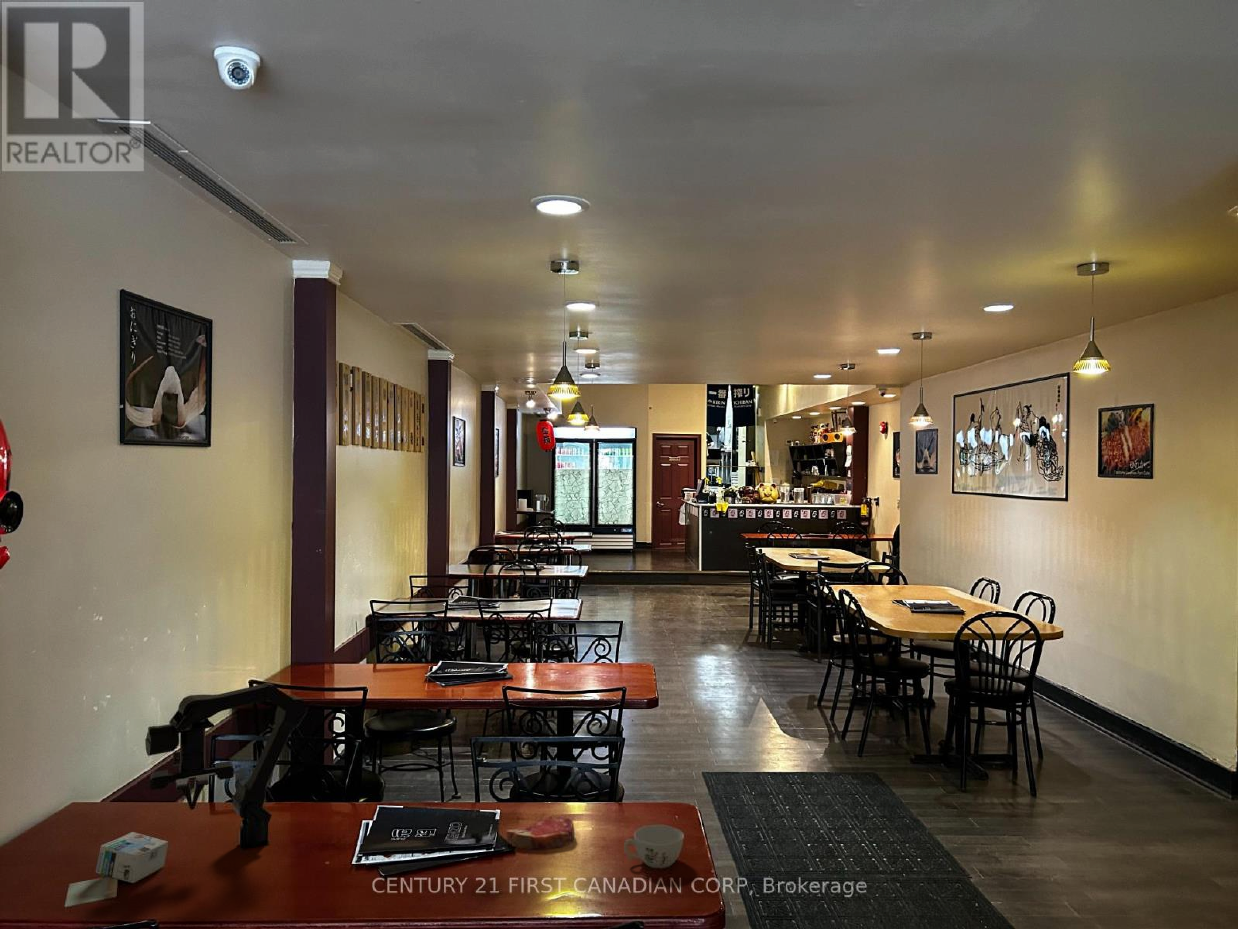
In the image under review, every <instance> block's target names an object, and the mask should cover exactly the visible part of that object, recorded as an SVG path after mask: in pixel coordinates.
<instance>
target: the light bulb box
mask: <svg viewBox="0 0 1238 929" xmlns="http://www.w3.org/2000/svg"><path fill="white" fill-rule="evenodd" d="M168 846H169V841H167V840H163V839H159V838H156V837H152V836H148V835H146V834H141V833H139V832H135V831H131V832H129V833H127V834H124V835H123V836H120V837H119V838H117V839H114V840H112V841H109V842H106V843H105V844H102V845H100V849H99V853H98V854H99V855H98V858H97V862H96V867H95V873H96V874H99V875H103V876H105V877H108V876H109V877H113V878H116V879H118V880H120V881H124V882H128V883H132V884H135V883H137V882H138V881H140V880H142V879H144V878H145V877H147V876H150V875H151V874H153V873H155V872H157V871H159V870H160V869H162V868H164V867H165V862H166V856H167V853H168V852H167V851H168Z"/></svg>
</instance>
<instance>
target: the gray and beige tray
mask: <svg viewBox="0 0 1238 929" xmlns="http://www.w3.org/2000/svg"><path fill="white" fill-rule="evenodd" d="M118 884H119V879H116V878H113V877H109V876H104V877H99V878H93V879H89V880H84V881H83V880H82V881H78V882H73V883H69V885H68V889H67V892H66V893H67V894H66V899H65V903H64V908H67V907H73V906H77V905H82V904H86V903H87V904H88V903H92V902H98V901H101V900H103V901H104V900H107V899H112V898H117V892H118Z"/></svg>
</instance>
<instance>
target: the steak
mask: <svg viewBox="0 0 1238 929" xmlns="http://www.w3.org/2000/svg"><path fill="white" fill-rule="evenodd" d="M505 832H506V833H505V834H506V835H505V837H506V842H507V841H508V842H510V843H511V844H513V845H515V846H516V847H515V848H521V849H526V850H527V849H528V850H534V851H546V850H553V849H560V848H563V847H566V846H568V845H570V844H571V843H573V841H574V839H575V827H574V821H573V820H572V819H571V818H568V817H564V816H563V817H562V816H559V817H554V818H552V816H551V815H550V816H547V817H543V818H540V819H537V820H536V821H535V822H534V823H532V824H530V825H527V826H524V827H520V828H514V829H513V828H512V829H511V828H510V829H507V830H506V831H505Z"/></svg>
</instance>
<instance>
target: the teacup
mask: <svg viewBox="0 0 1238 929" xmlns="http://www.w3.org/2000/svg"><path fill="white" fill-rule="evenodd" d="M684 839H685V834H684V833H683V832H682V831H681V830H680V829H678V828H676V827H673V826H670V825H666V824H650V825H645V826H642V827H639V828H638V829H636V830H635V832H634V833H633V839H632V838H627V839H626V840H625V842H624V844H623V845H624V846H623V850H624V852H625V854H626V855H627V856H629V857H632V858H636V859H637V858H638V859H640V860H641V861H642V862H643V863H644V864H645V865H647V867H650V868H653V869H666V868H668V867H671V866H672V865H673V864H674V863H675V862H676V861H677V859H678V858H679V855H680V853H681V851H682V848H683V843H684ZM630 844H632V845H633V847H634V849H636V852H637V854H635V853H632V852H630V851H629V850H628V845H630Z"/></svg>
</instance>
